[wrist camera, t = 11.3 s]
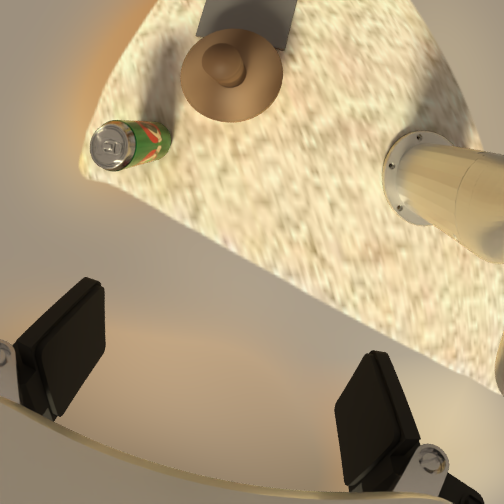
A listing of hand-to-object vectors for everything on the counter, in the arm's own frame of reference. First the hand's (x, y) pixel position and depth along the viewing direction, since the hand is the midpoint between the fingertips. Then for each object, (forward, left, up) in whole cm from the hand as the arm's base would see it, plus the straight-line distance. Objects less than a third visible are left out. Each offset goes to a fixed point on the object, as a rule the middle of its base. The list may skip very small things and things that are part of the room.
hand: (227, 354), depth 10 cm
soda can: (+15, -3, -30) cm, 34 cm away
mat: (+7, -23, -30) cm, 39 cm away
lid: (+6, -12, -25) cm, 29 cm away
